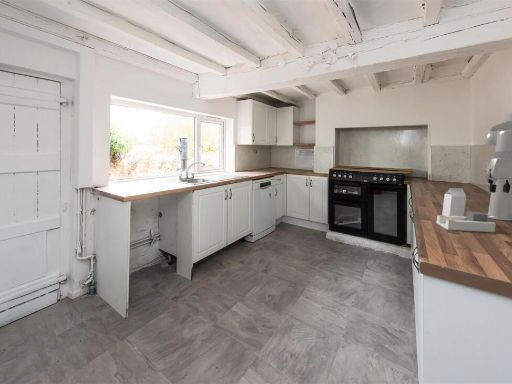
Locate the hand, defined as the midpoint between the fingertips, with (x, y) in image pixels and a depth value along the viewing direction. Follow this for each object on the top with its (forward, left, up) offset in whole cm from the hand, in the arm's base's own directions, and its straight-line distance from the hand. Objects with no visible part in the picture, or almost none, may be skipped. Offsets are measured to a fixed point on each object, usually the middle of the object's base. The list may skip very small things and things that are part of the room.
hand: (499, 191), depth 119 cm
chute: (+13, 0, -19) cm, 23 cm away
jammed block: (+8, 0, -18) cm, 20 cm away
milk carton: (+12, -13, -20) cm, 26 cm away
